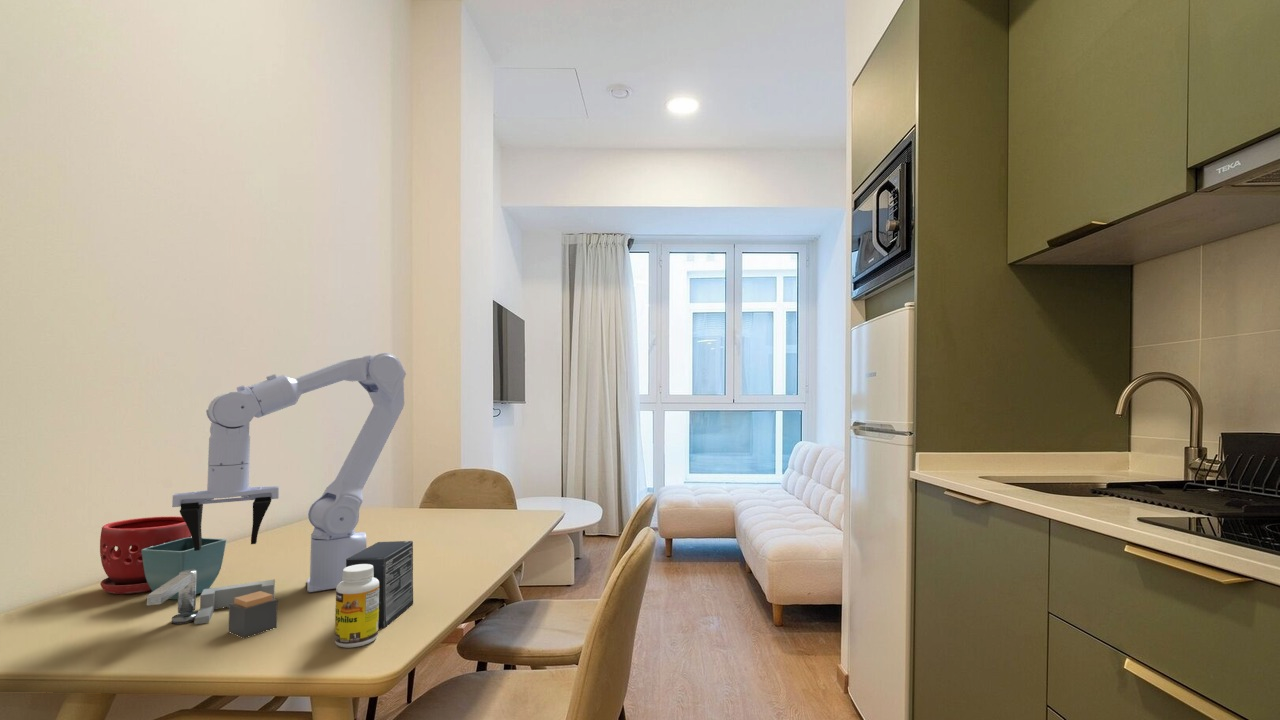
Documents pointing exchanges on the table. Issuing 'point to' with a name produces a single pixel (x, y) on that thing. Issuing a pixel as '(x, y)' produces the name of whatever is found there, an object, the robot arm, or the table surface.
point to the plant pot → (134, 549)
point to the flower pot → (183, 562)
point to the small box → (390, 576)
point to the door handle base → (184, 617)
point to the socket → (228, 597)
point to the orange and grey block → (252, 614)
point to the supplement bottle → (357, 607)
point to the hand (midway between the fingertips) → (226, 546)
